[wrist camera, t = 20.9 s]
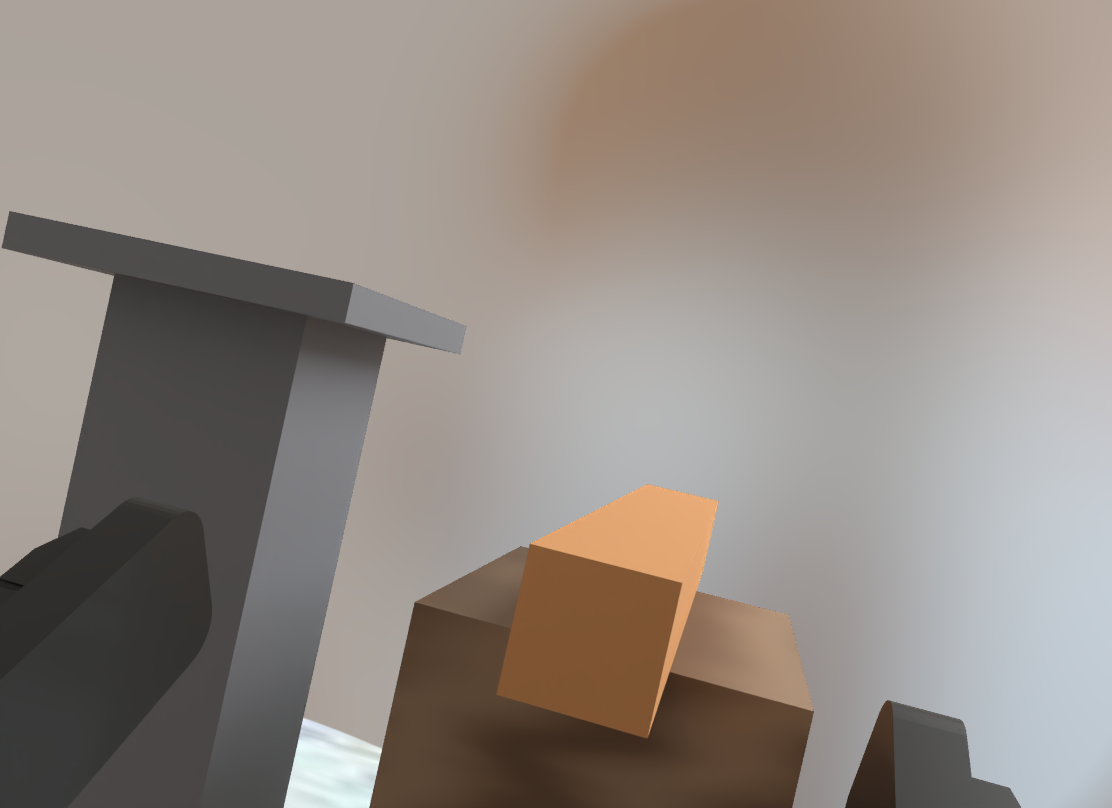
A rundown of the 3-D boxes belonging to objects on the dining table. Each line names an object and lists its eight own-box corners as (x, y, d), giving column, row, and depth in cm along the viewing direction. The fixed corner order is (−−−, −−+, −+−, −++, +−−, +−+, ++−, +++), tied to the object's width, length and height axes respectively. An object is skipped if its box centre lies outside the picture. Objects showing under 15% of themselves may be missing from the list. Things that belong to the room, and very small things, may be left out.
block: (702, 572, 40) (718, 501, 40) (647, 738, 18) (682, 583, 18) (631, 554, 40) (647, 484, 40) (496, 694, 19) (530, 543, 19)
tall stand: (268, 1223, 34) (466, 326, 34) (77, 1543, 24) (353, 283, 24) (26, 1122, 36) (211, 271, 36) (-241, 1382, 26) (9, 211, 26)
